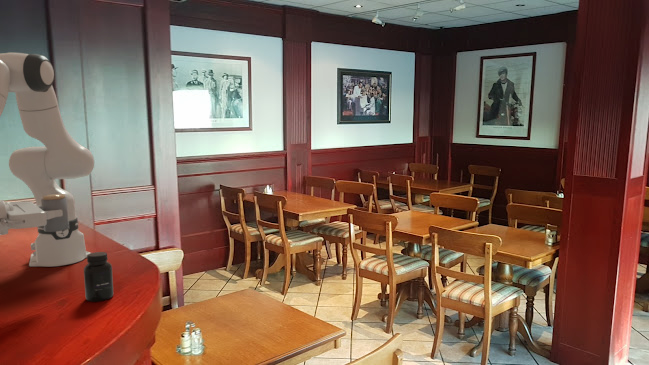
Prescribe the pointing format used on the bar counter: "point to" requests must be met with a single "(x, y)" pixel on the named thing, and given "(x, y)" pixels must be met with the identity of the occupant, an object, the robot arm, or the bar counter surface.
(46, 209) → the sugar jar
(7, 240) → the bar counter surface
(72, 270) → the bar counter surface
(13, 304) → the bar counter surface
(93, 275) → the supplement bottle
